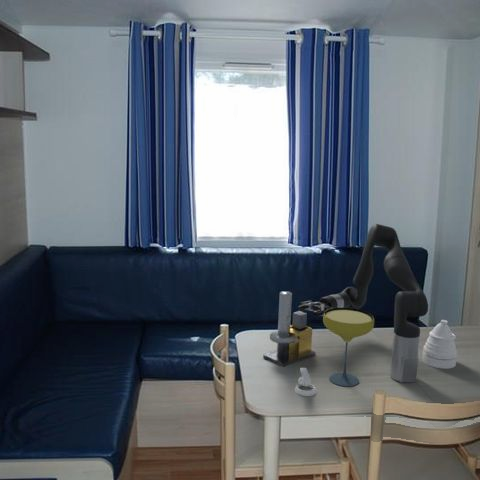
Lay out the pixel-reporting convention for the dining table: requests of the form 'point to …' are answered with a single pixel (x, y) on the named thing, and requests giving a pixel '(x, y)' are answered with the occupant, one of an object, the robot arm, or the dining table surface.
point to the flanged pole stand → (289, 337)
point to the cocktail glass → (347, 334)
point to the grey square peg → (299, 320)
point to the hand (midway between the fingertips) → (306, 311)
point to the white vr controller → (305, 384)
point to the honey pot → (440, 347)
